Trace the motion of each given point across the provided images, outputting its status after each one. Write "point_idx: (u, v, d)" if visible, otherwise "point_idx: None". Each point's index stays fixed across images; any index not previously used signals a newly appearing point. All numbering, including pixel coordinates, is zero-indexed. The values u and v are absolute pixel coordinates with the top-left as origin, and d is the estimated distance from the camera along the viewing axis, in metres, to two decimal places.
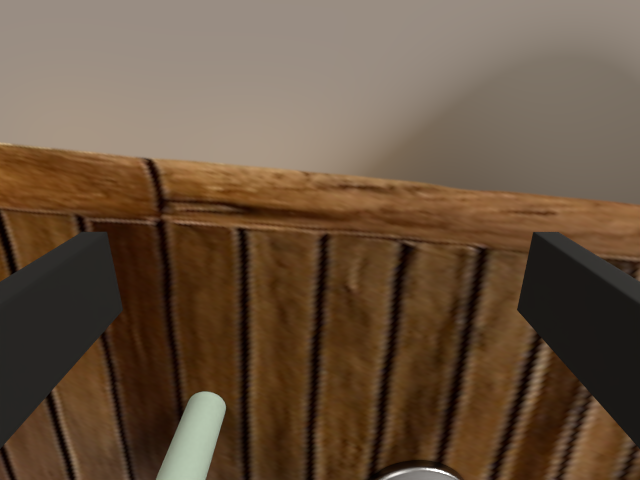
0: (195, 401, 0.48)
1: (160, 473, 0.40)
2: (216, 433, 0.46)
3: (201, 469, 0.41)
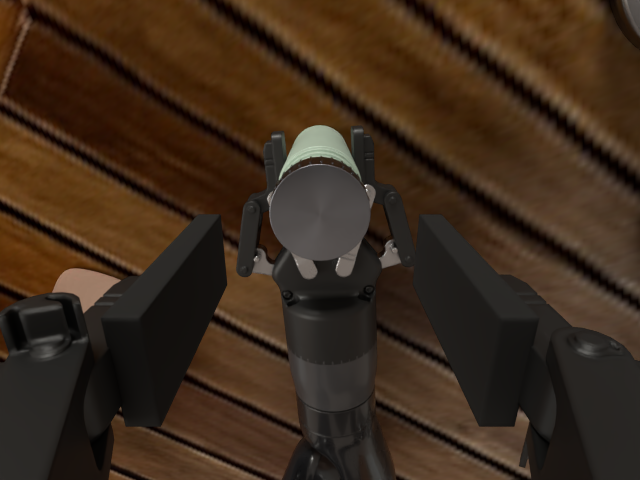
0: None
1: None
2: (331, 133, 0.29)
3: (323, 139, 0.24)
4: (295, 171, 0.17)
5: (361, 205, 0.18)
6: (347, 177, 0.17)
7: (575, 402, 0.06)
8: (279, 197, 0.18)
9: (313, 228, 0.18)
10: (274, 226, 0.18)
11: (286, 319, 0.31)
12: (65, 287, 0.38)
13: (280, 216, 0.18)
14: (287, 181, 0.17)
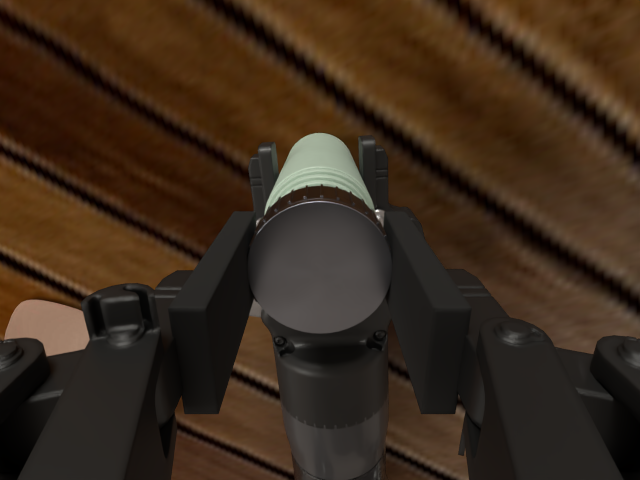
0: None
1: None
2: (334, 144, 0.24)
3: (324, 155, 0.19)
4: (283, 211, 0.12)
5: (380, 259, 0.12)
6: (360, 220, 0.12)
7: (499, 390, 0.06)
8: (260, 248, 0.12)
9: (310, 290, 0.13)
10: (254, 288, 0.13)
11: (279, 371, 0.25)
12: (21, 322, 0.32)
13: (262, 274, 0.12)
14: (272, 225, 0.12)
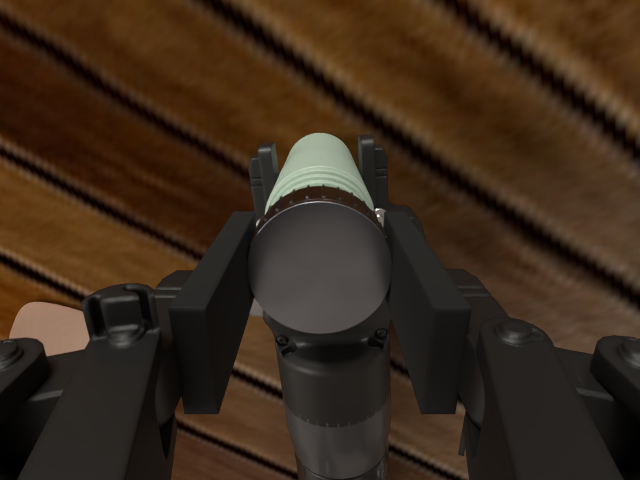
0: None
1: None
2: (333, 143, 0.24)
3: (323, 154, 0.19)
4: None
5: (266, 242, 0.12)
6: (254, 283, 0.13)
7: (499, 390, 0.06)
8: (341, 322, 0.13)
9: (341, 264, 0.12)
10: (377, 302, 0.13)
11: (281, 370, 0.25)
12: (25, 324, 0.32)
13: (360, 306, 0.13)
14: (317, 329, 0.13)
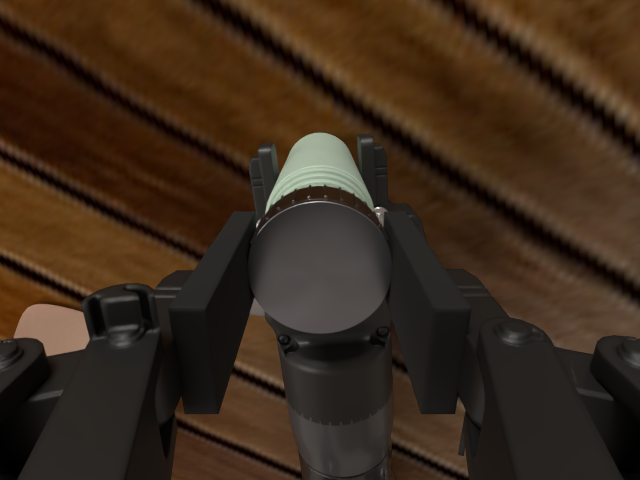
0: None
1: None
2: (333, 143, 0.24)
3: (323, 154, 0.19)
4: (385, 240, 0.12)
5: (333, 322, 0.13)
6: (373, 305, 0.13)
7: (499, 390, 0.06)
8: (346, 216, 0.12)
9: (298, 263, 0.12)
10: (300, 208, 0.12)
11: (283, 369, 0.25)
12: (29, 326, 0.32)
13: (317, 217, 0.12)
14: (370, 228, 0.12)
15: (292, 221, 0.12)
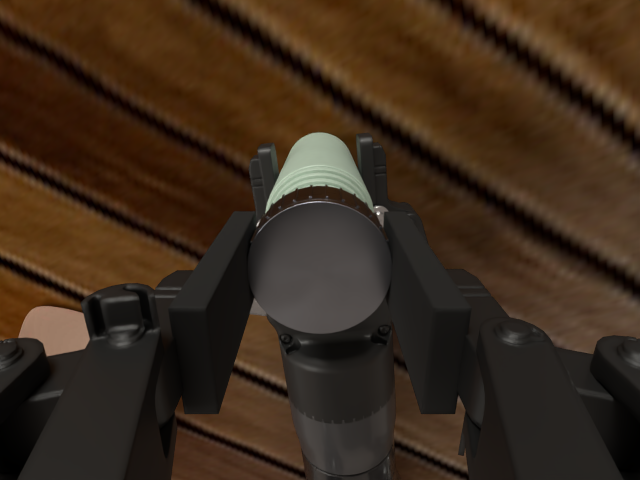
0: None
1: None
2: (332, 142, 0.24)
3: (322, 154, 0.19)
4: (249, 254, 0.12)
5: (352, 222, 0.12)
6: (306, 209, 0.12)
7: (499, 390, 0.06)
8: (262, 292, 0.13)
9: (328, 291, 0.13)
10: (287, 323, 0.13)
11: (285, 368, 0.25)
12: (32, 328, 0.33)
13: (282, 309, 0.13)
14: (252, 270, 0.12)
15: (301, 320, 0.13)
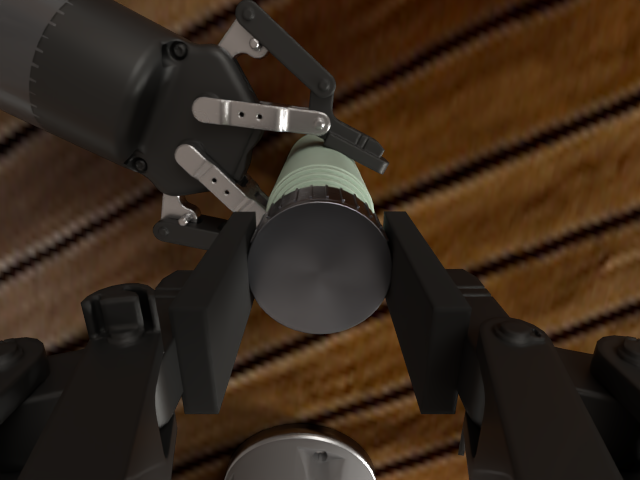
0: None
1: (337, 159, 0.18)
2: None
3: None
4: (249, 254, 0.12)
5: (352, 222, 0.12)
6: (306, 209, 0.12)
7: (499, 390, 0.06)
8: (262, 292, 0.13)
9: (327, 292, 0.13)
10: (287, 323, 0.13)
11: (139, 26, 0.18)
12: None
13: (282, 309, 0.13)
14: (252, 270, 0.12)
15: (301, 320, 0.13)
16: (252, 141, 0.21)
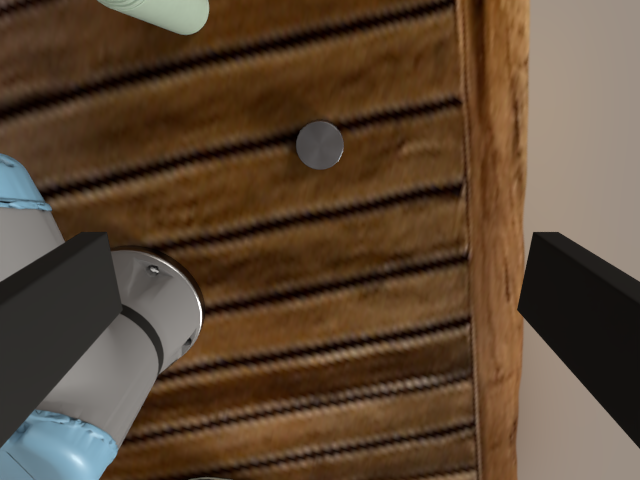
0: None
1: None
2: (180, 24, 0.32)
3: (163, 8, 0.28)
4: (297, 139, 0.38)
5: (330, 128, 0.38)
6: (315, 124, 0.38)
7: None
8: (300, 153, 0.39)
9: (322, 153, 0.39)
10: (309, 165, 0.39)
11: None
12: None
13: (307, 159, 0.39)
14: (298, 145, 0.38)
15: (313, 164, 0.39)
16: None
